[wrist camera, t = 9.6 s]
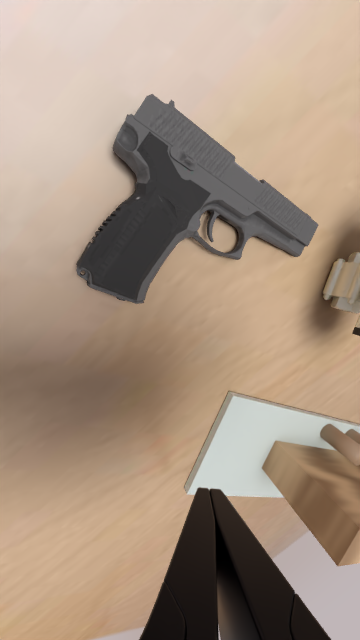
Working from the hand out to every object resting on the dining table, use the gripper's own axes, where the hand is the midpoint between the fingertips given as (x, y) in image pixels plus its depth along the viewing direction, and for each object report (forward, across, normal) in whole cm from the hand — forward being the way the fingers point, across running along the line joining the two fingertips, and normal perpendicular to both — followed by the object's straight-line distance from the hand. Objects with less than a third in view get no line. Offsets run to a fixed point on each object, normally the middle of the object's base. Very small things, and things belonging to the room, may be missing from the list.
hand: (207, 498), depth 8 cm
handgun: (+13, 0, +9) cm, 16 cm away
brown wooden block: (+17, +15, -14) cm, 27 cm away
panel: (+17, +12, -13) cm, 24 cm away
